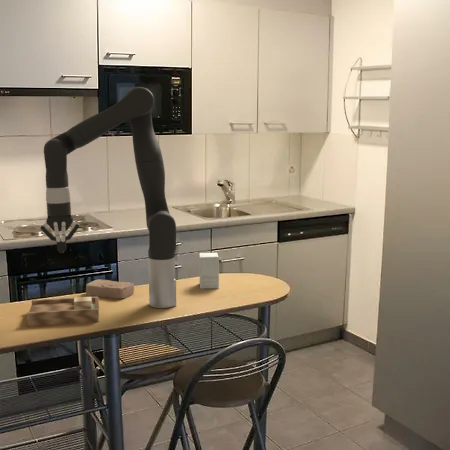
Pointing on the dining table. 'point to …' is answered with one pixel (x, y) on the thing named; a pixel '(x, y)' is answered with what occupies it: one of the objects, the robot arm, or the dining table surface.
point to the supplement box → (209, 270)
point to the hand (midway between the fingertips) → (61, 252)
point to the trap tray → (61, 312)
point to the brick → (110, 289)
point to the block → (82, 303)
